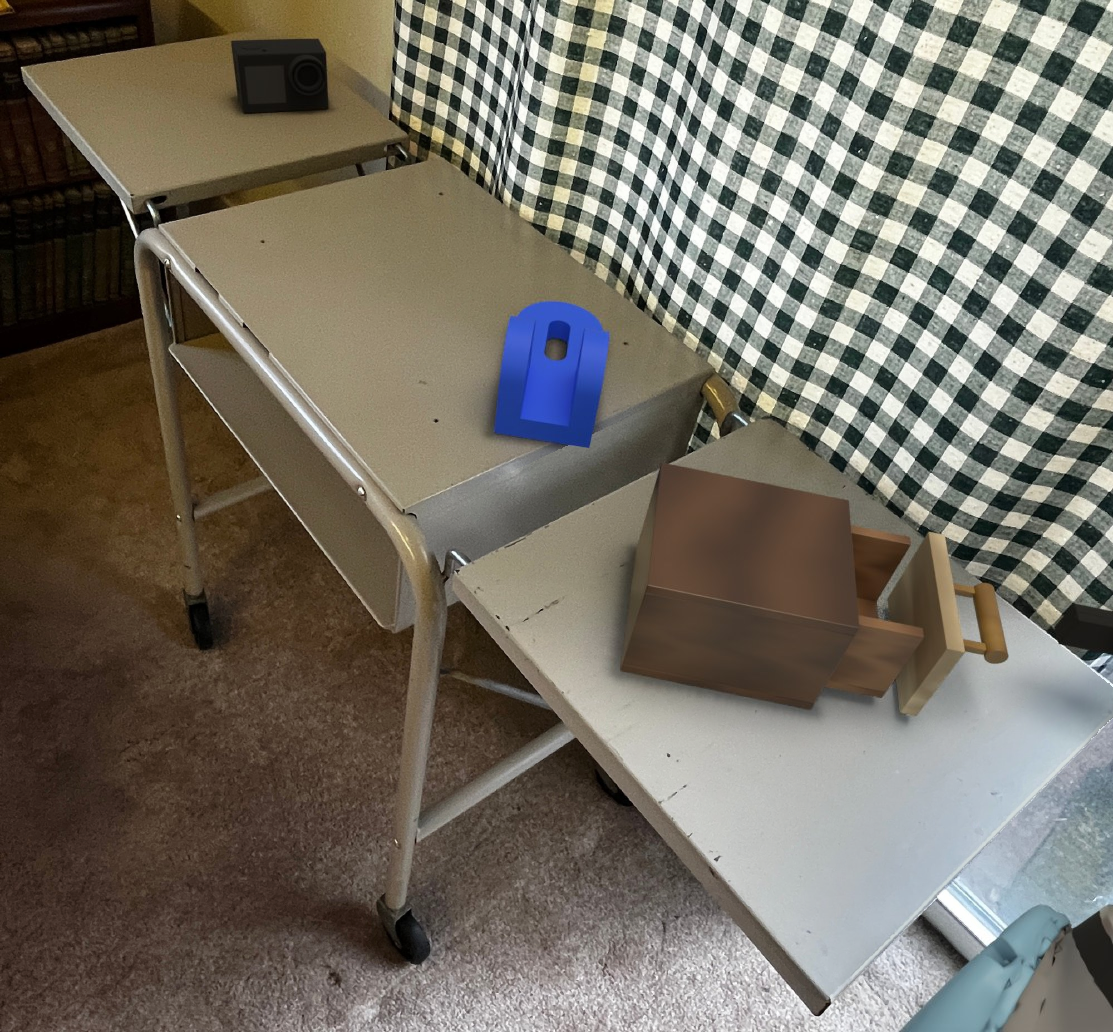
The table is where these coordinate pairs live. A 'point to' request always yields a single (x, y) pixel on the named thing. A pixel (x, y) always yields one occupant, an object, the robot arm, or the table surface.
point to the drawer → (912, 621)
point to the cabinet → (741, 587)
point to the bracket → (551, 375)
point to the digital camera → (280, 75)
